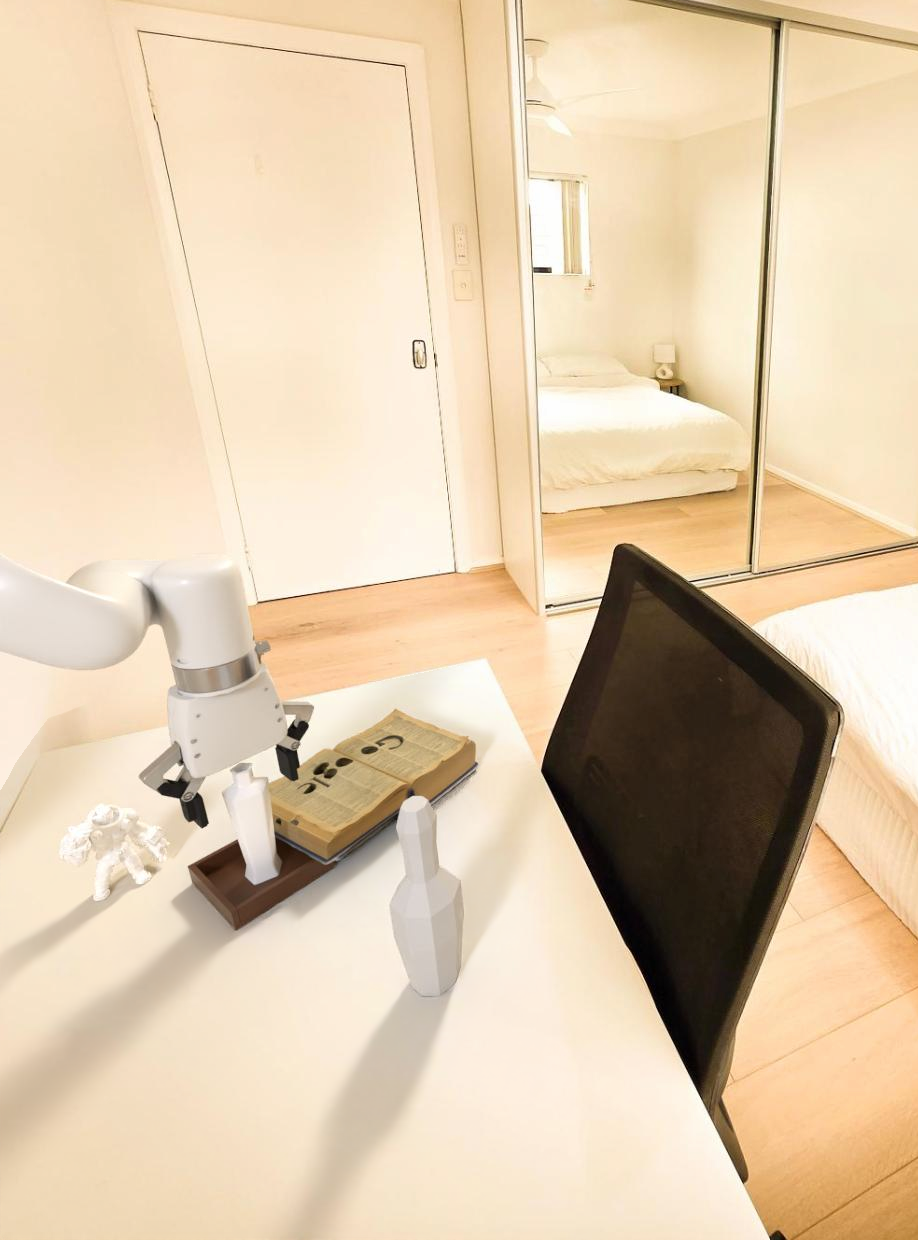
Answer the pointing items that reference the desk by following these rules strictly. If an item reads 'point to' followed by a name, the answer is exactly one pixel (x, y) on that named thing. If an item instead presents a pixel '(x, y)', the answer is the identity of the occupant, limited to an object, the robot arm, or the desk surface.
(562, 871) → the desk surface
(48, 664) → the robot arm
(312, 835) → the book
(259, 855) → the white faceted vase
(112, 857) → the figurine
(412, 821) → the low poly bottle
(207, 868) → the tray
